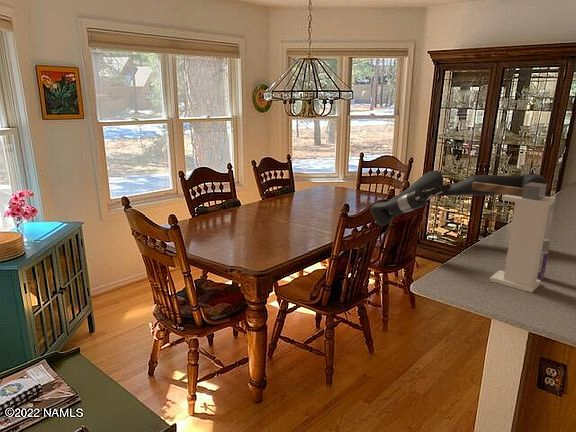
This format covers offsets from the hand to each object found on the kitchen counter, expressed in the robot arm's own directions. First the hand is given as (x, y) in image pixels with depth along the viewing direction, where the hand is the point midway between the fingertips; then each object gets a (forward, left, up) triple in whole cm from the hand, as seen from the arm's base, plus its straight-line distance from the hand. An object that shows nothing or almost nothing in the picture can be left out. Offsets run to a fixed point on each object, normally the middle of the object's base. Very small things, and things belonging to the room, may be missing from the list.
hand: (445, 187), depth 170 cm
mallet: (-9, +21, +1) cm, 23 cm away
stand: (-13, +28, -31) cm, 43 cm away
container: (-25, +26, -31) cm, 47 cm away
